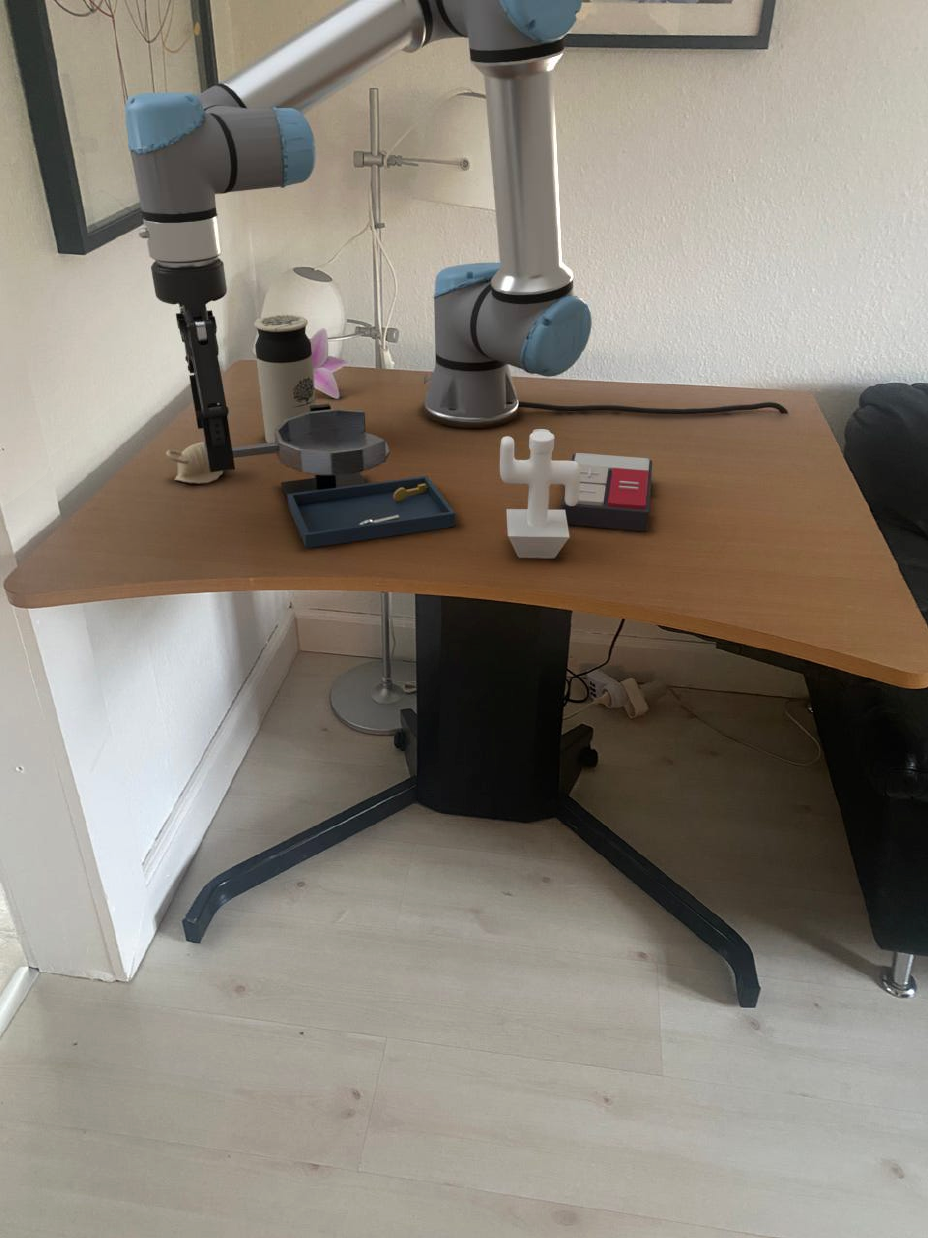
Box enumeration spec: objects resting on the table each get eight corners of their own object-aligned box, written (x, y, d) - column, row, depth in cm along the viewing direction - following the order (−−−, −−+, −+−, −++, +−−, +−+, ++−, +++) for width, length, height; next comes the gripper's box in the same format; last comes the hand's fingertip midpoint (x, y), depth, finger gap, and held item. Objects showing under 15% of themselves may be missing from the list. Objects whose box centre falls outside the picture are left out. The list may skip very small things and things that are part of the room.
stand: (359, 478, 134) (355, 392, 127) (368, 492, 130) (364, 404, 123) (281, 488, 131) (272, 400, 124) (288, 503, 127) (278, 413, 120)
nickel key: (355, 529, 119) (357, 532, 119) (359, 521, 118) (361, 524, 118) (395, 520, 122) (396, 522, 122) (399, 512, 120) (400, 514, 120)
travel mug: (256, 438, 146) (242, 319, 137) (301, 426, 150) (291, 310, 141) (282, 454, 141) (269, 332, 131) (328, 441, 145) (319, 322, 136)
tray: (427, 488, 131) (427, 475, 130) (455, 526, 122) (455, 513, 121) (288, 506, 126) (287, 493, 125) (306, 548, 116) (304, 534, 115)
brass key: (396, 490, 125) (395, 488, 125) (393, 502, 126) (391, 501, 126) (428, 483, 129) (427, 481, 129) (425, 495, 130) (423, 493, 130)
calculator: (561, 498, 120) (573, 447, 132) (559, 528, 123) (571, 475, 135) (649, 506, 119) (653, 454, 131) (646, 536, 121) (649, 482, 133)
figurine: (576, 564, 114) (586, 446, 106) (497, 563, 114) (501, 444, 106) (571, 536, 120) (580, 422, 112) (496, 535, 120) (500, 421, 112)
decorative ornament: (232, 476, 134) (227, 440, 132) (176, 491, 130) (170, 455, 127) (218, 467, 137) (213, 431, 134) (163, 482, 132) (157, 445, 130)
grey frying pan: (372, 426, 126) (371, 403, 124) (402, 468, 114) (401, 444, 112) (201, 445, 120) (198, 421, 118) (215, 493, 108) (211, 467, 106)
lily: (263, 403, 162) (267, 362, 154) (283, 357, 169) (289, 315, 161) (330, 426, 164) (339, 386, 156) (349, 379, 170) (357, 339, 162)
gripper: (143, 238, 110) (174, 414, 122) (157, 290, 90) (193, 494, 102) (209, 233, 112) (233, 407, 124) (238, 284, 92) (263, 485, 104)
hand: (215, 447), depth 113 cm, fingers open, 13 cm apart
